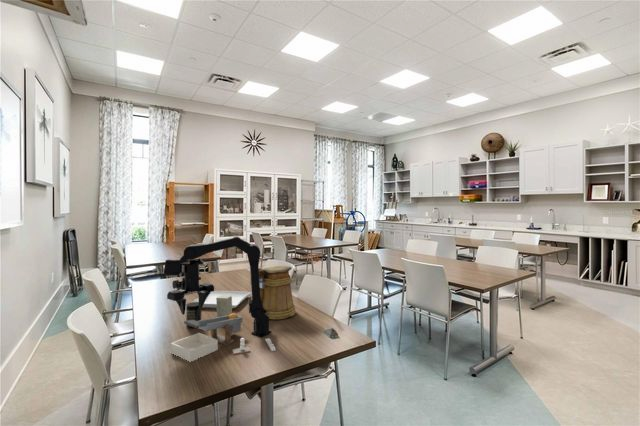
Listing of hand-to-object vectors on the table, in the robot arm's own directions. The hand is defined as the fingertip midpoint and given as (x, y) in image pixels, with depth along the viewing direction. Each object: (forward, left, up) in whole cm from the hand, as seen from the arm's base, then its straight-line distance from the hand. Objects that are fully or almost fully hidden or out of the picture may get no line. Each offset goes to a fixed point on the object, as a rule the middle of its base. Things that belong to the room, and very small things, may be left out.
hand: (191, 311), depth 133 cm
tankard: (-7, -43, -12) cm, 45 cm away
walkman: (+21, -64, -12) cm, 68 cm away
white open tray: (-10, +6, -12) cm, 17 cm away
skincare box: (+6, -22, -12) cm, 26 cm away
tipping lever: (-6, -6, -9) cm, 12 cm away
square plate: (+31, -41, -13) cm, 53 cm away
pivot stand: (-10, -7, -12) cm, 17 cm away
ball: (-10, -13, -4) cm, 17 cm away
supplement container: (+13, -10, -12) cm, 20 cm away
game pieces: (-34, -22, -13) cm, 42 cm away
